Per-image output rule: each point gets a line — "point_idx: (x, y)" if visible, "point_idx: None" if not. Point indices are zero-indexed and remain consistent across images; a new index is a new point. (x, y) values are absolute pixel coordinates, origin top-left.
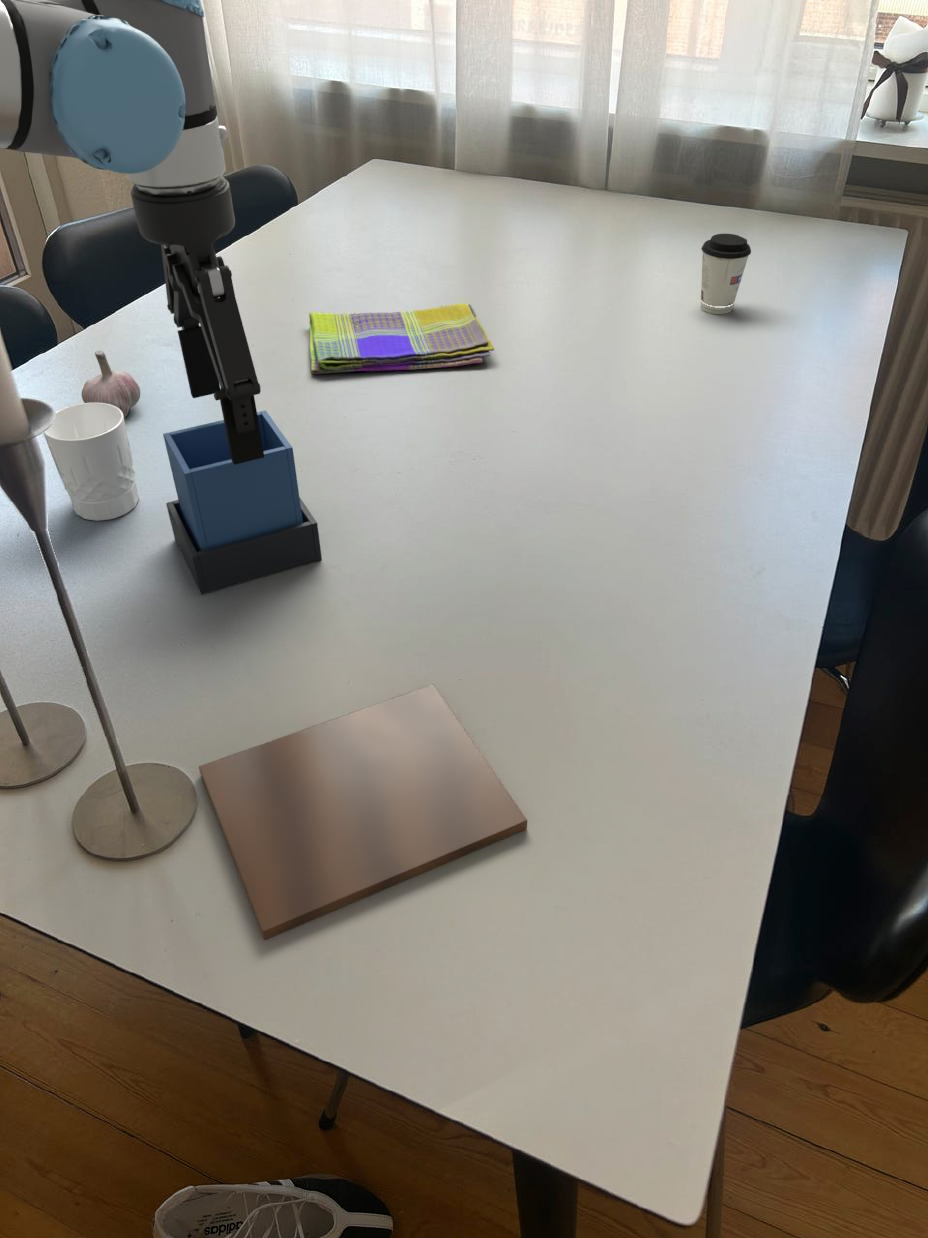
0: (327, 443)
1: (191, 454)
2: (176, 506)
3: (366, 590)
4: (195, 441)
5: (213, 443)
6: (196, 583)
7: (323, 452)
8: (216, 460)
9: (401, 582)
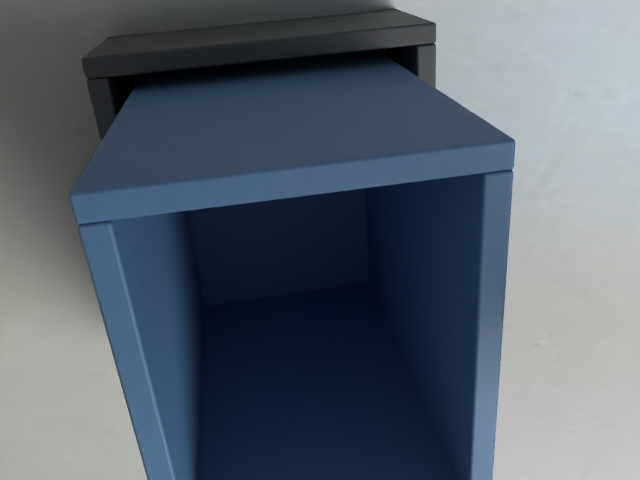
0: (609, 406)
1: (440, 198)
2: (412, 52)
3: (31, 392)
4: (458, 245)
5: (445, 294)
6: (146, 34)
7: (581, 394)
8: (422, 258)
9: (44, 453)
